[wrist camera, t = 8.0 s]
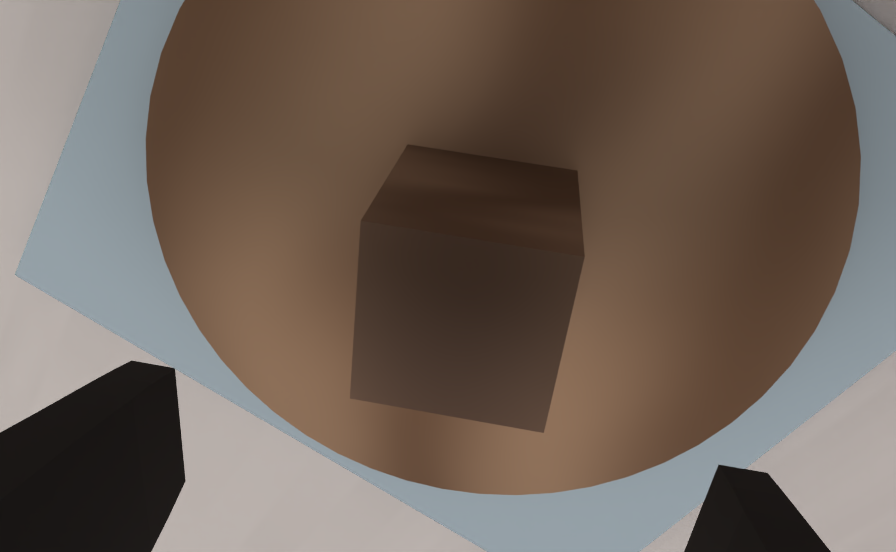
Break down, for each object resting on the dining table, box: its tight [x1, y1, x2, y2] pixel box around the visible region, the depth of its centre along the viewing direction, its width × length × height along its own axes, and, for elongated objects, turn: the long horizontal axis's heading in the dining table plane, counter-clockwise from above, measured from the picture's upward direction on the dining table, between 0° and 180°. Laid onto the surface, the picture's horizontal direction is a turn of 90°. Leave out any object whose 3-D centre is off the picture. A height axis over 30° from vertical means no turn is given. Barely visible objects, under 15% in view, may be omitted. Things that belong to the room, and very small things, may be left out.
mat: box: [15, 0, 896, 552], centre depth 16 cm, size 18×16×1 cm
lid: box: [146, 0, 861, 495], centre depth 14 cm, size 15×15×5 cm
